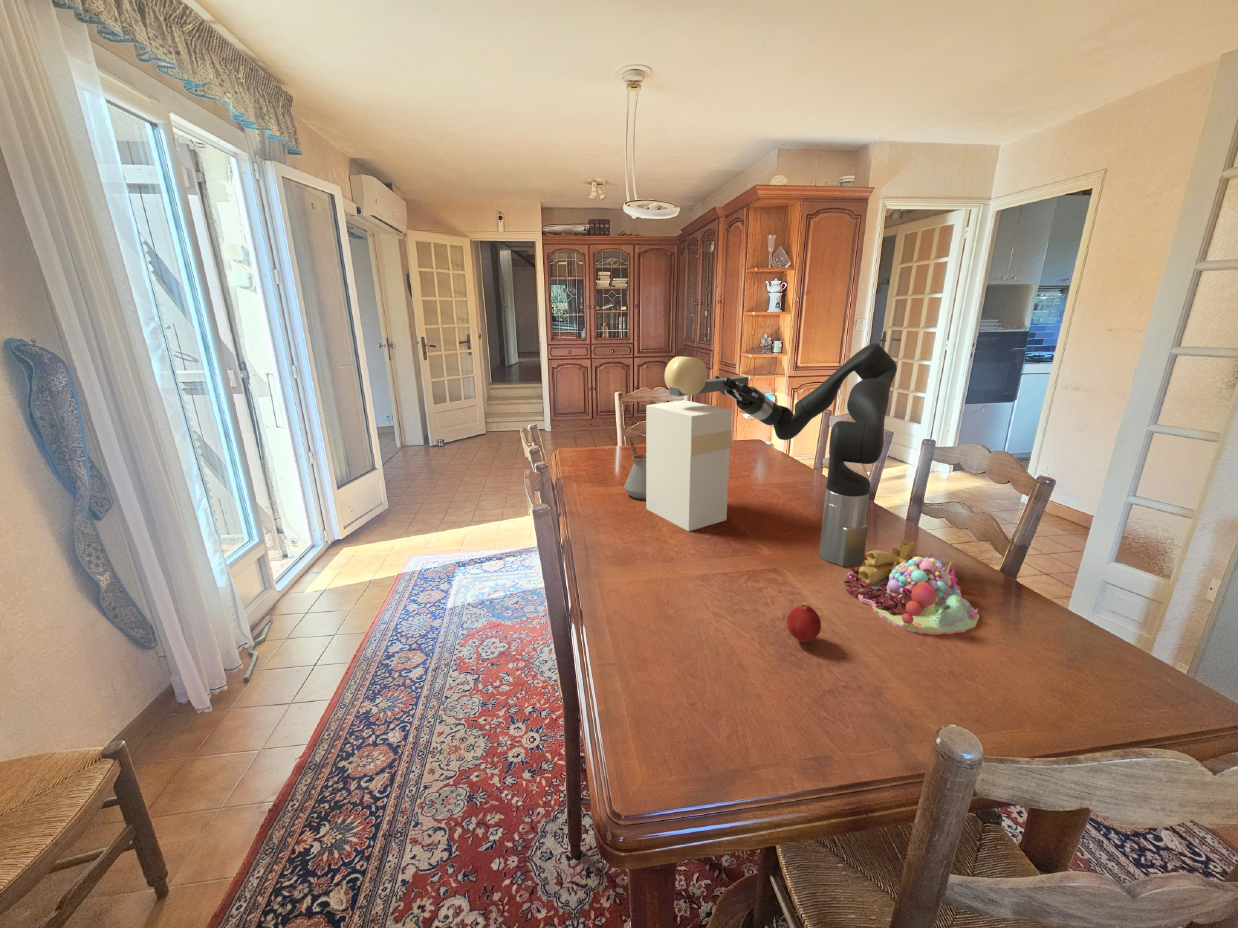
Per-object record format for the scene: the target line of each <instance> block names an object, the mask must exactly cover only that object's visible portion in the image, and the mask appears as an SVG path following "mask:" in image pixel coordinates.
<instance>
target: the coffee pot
mask: <svg viewBox="0 0 1238 928" xmlns="http://www.w3.org/2000/svg"><path fill="white" fill-rule="evenodd" d="M634 442H635V441H634V440H632V439H630V440H629V441H628V443H627V445H629V446H630V448H631V450H632V452H633V456H631V460H632V461H633V464H632V467H631V469H630V471H629V475H628V476H627V479H626V480H625V483H624V486H623V487H624V490H625V492H626V493H627V494H628V495H629V496H630V497H631V498H633V499H639V500H646V454H638V453H637V448H636V447H635V443H634ZM629 443H630V444H629Z"/></svg>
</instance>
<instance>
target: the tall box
mask: <svg viewBox="0 0 1238 928" xmlns="http://www.w3.org/2000/svg"><path fill="white" fill-rule="evenodd" d="M645 406H646V407H645V408H646V411H645V412H646V413H645V414H646V416H645V419H646V424H645V425H646V426H645V427H646V428H645V431H646V433H645V434H646V435H645V437H646V438H645V439H646V443H645V445H646V452H645V453H646V454H645V455H646V499H645V500H646V501H645V504H646V506H645V507H646V508H645V509H646V510H647V511H649V512H652V513H653V514H655V515H657V516H658V517H660V518H663V519H665V520H667V521H668V522H670V523H672V524H674V525H675V526H677V527H679V528H681V529H683V530H685V531H687V532H692V531H694V530H698V529H702V528H704V527H707V526H710V525H715V524H717V523H721V522H724V521H727V513H728V492H729V491H728V490H729V477H730V475H729V473H730V457H731V456H730V452H731V448H732V414H733V412H732V411H733V410H732V409H729V408H723V407H718V406H715V405H710V404H705V403H701V402H700V403H699V402H696V401H689V400H684V399H683V400H674V401H668V402H660V403H653V404H646V405H645Z"/></svg>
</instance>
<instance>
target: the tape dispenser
mask: <svg viewBox="0 0 1238 928" xmlns="http://www.w3.org/2000/svg"><path fill="white" fill-rule="evenodd" d="M706 366H707V365H706V364H705V362H704V361H703V360H702V359H700V358H698V357H693V356H692V357H690V356H675V357H673V358H672V359H671V360H670V361H669V362H668V363H667V365H666V366H665V370H664V382H665V385H666V387H667V388H668V390H669V395H670V396H675V397H684V396H696V395H700V394H707V393H715V392H720V391H724V390H732V389H730V388H729V387H727V386H726V385H724V381H725V378H726V377H720V378H715V379H714V378H708V369H707V367H706ZM728 377H729V378H730V379H732V380H733V381H735V382H738V383H739V384H745V385H746V386H748V387H749V380H750V379H749V378H750V377H749V376H744V375H735V376H734V375H733V376H728Z"/></svg>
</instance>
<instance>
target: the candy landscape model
mask: <svg viewBox="0 0 1238 928" xmlns="http://www.w3.org/2000/svg"><path fill="white" fill-rule="evenodd" d="M915 549H916V542H913V541H912V540H911V539H904V540H901V543H900V545H899V549H898V548H896V547H893V549H892V553H891V552H887V551H882V550H878V549H877V550H875V549H874V550H870V551H868V552H865V554H864V557H865V558H866V560H865V559H864V561H863V563H860V566H859V565H857V566H855V567H852V568H851V571H850V572H847V578H846V579H845V580H844V581H843V582H842V583H843V584H847V585H848V584H849V585H850V586H849V587H848V588H847V589H845V590H846V591H847V592H848V593H849V594H851V595H852V596H853V597H855V598H857V599H858V600H859V601H860V602H861V603H864V604H866V605H868V606H871V607H872V610H873V613H875V614H876V615H877V616H878V617H880V619H882V620H885V621H887V622H888V623H889V624H892V625H893V626H894V627H896V628H899V629H901V630H904V631H907V632H909V633H911V632H912V633H916V634H920V635H924V634H925V635H931V636H932V635H934V636H935V635H942V634H946V635H954V634H957V633H966V631H967V630H968V631H970V630H971V629H975V627H976V626H977V624H978V621H979V619H980V614H979V613H978V612H979V610H978V609H979V608H976V609H975V608H974V607H973V606H972V605H971V603H970V602H969V601H968V600H967V599H965V598H964V597H962V593H961V591H962V590H961V586H960V585H958V584H957V582H958V579H957V577H956V571H955V570H954V568H952V571H951V572H950V570H951V567H952V564H953V562H952V561H949V563H948V564H945V566H944V567H943V563H942V562H943V557H941V558H940V556H941V554H940V553H938V554H937V556H936V558H934V557H933V555H934V553H933V552H931V553H930V555H929V557H921V556H914V555H913V553H914V550H915Z"/></svg>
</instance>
